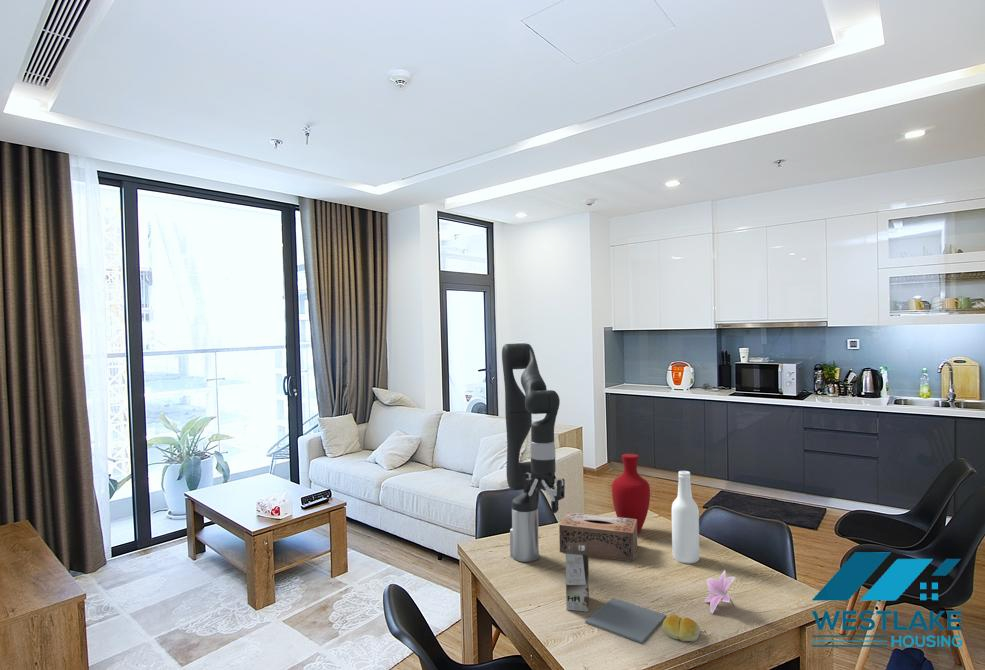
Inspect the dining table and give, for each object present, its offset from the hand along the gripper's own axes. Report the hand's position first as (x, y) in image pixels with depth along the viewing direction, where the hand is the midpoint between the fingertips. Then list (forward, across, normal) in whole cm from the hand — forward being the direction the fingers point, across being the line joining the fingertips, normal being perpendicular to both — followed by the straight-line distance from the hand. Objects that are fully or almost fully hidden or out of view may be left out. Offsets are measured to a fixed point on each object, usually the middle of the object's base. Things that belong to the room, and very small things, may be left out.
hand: (543, 510), depth 162 cm
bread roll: (+25, +41, +3) cm, 48 cm away
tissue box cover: (+25, -2, +39) cm, 46 cm away
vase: (+25, 0, +62) cm, 67 cm away
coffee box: (+25, +12, 0) cm, 28 cm away
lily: (+25, +44, +22) cm, 56 cm away
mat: (+25, +26, 0) cm, 36 cm away
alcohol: (+25, +26, +49) cm, 61 cm away
